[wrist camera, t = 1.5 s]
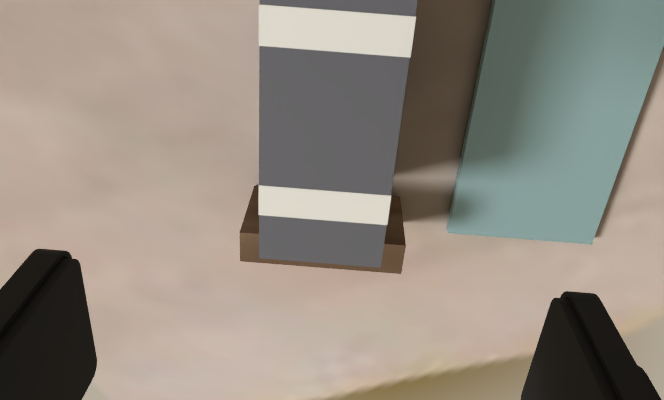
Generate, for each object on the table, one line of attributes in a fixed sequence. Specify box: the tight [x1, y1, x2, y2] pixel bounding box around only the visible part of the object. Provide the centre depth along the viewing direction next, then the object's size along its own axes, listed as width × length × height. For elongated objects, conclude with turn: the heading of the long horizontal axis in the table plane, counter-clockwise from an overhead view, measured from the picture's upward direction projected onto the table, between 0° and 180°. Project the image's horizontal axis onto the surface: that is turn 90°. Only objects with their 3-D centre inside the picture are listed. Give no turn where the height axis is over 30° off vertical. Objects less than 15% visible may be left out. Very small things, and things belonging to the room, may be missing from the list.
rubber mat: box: [447, 0, 664, 244], centre depth 24 cm, size 16×7×1 cm, turn 176°
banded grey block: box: [258, 0, 418, 268], centre depth 22 cm, size 11×4×7 cm, turn 176°
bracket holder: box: [240, 186, 406, 274], centre depth 23 cm, size 16×7×4 cm, turn 176°
